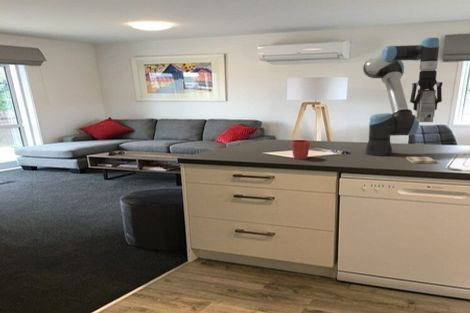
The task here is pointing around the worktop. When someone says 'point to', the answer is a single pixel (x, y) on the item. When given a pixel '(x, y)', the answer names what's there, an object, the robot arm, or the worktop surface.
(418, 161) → the beige square napkin
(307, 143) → the flower pot
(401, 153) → the worktop surface
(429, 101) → the coffee box
